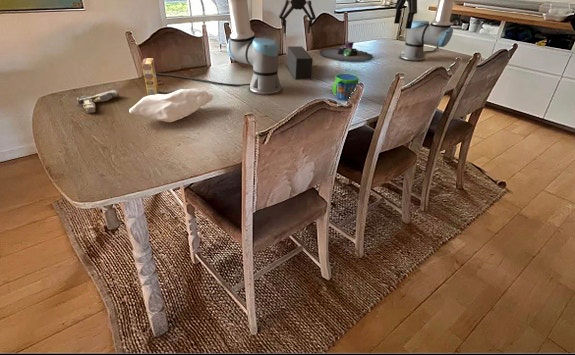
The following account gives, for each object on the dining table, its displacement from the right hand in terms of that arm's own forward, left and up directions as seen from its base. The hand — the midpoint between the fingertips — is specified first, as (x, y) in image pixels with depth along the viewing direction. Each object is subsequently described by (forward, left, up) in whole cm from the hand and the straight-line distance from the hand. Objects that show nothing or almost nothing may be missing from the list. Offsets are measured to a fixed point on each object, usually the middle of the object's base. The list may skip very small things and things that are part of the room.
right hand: (402, 26), depth 186 cm
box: (+22, -47, -28) cm, 59 cm away
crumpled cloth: (+106, -57, -28) cm, 123 cm away
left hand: (+15, -54, -8) cm, 56 cm away
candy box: (+96, -81, -28) cm, 128 cm away
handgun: (+116, -89, -28) cm, 149 cm away
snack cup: (+44, -8, -28) cm, 53 cm away
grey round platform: (-30, -42, -28) cm, 59 cm away
